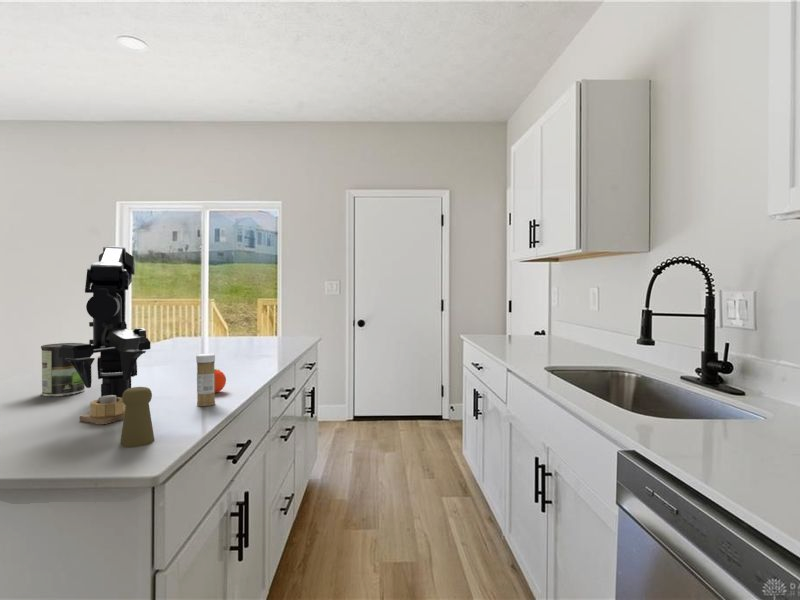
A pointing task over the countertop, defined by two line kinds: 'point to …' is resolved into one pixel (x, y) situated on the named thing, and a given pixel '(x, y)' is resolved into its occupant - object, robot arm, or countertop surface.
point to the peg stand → (107, 419)
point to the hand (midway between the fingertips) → (108, 383)
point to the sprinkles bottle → (205, 379)
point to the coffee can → (58, 373)
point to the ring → (107, 408)
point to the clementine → (219, 380)
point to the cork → (137, 418)
